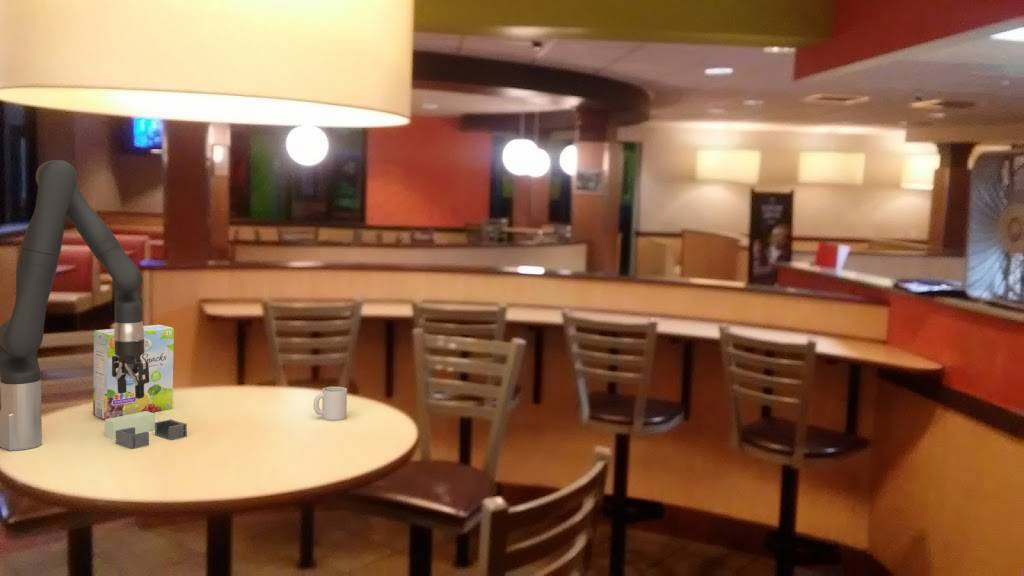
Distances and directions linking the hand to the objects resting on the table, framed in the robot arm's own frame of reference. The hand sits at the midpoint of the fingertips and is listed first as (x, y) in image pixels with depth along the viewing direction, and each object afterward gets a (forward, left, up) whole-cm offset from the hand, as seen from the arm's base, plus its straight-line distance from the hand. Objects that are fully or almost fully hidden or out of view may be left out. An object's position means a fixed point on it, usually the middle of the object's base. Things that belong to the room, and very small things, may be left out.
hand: (130, 395), depth 252 cm
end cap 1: (-6, -10, -11) cm, 16 cm away
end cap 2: (+6, -10, -11) cm, 16 cm away
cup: (+49, -27, -11) cm, 57 cm away
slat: (0, 0, -11) cm, 11 cm away
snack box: (+13, +19, -11) cm, 25 cm away
